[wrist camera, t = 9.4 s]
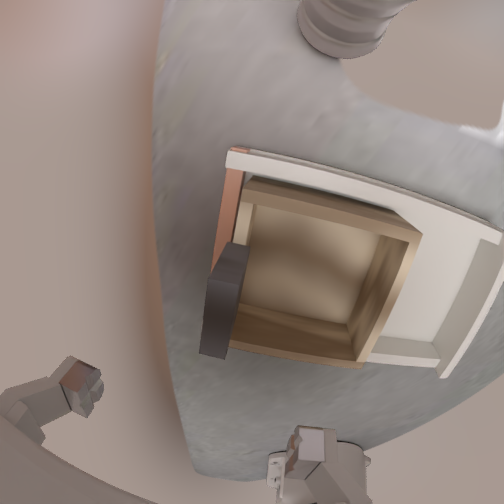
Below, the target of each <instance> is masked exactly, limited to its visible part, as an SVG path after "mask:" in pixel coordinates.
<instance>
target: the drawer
mask: <svg viewBox="0 0 504 504" xmlns="http://www.w3.org/2000/svg"><path fill="white" fill-rule="evenodd" d="M422 236H423V233H421V232H420V231H419V230H418V229H416V228H415V227H414V226H413V225H411V224H410V223H409V222H408V221H406V220H405V219H404V218H403V217H401V216H400V215H399V214H397V213H396V212H395V211H393V210H390V209H387V208H383V207H380V206H377V205H373V204H370V203H366V202H362V201H359V200H355V199H352V198H348V197H344V196H340V195H336V194H333V193H329V192H325V191H321V190H317V189H313V188H308V187H304V186H300V185H296V184H291V183H287V182H282V181H278V180H273V179H269V178H264V177H259V176H254V175H253V176H252V177H251V179H250V180H249V181H248V182H247V184H246V185H245V186H244V187H243V189H242V195H241V200H240V206H239V211H238V216H237V222H236V228H235V233H234V239H233V243H232V242H227V243H226V245H225V247H224V249H223V251H222V253H221V255H220V257H219V259H218V260H217V262H216V264H215V266H214V268H213V270H212V272H211V274H210V276H209V278H208V285H207V292H206V300H205V308H204V316H203V324H202V332H201V341H200V350H199V353H200V354H204V355H208V356H212V357H216V358H220V359H224V360H225V357H226V353H227V349H228V347H231V348H235V349H240V350H244V351H249V352H254V353H259V354H264V355H269V356H274V357H280V358H285V359H291V360H297V361H303V362H309V363H316V364H322V365H329V366H337V367H345V368H353V369H362V367H363V365H364V363H365V362H366V360H367V358H368V356H369V354H370V352H371V351H372V349H373V347H374V345H375V343H376V341H377V339H378V337H379V335H380V333H381V332H382V330H383V328H384V326H385V324H386V321H387V319H388V317H389V315H390V313H391V311H392V309H393V307H394V305H395V302H396V300H397V298H398V296H399V294H400V291H401V289H402V287H403V284H404V282H405V280H406V277H407V275H408V272H409V270H410V267H411V265H412V262H413V260H414V257H415V255H416V252H417V249H418V247H419V244H420V241H421V238H422Z"/></svg>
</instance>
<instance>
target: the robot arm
mask: <svg viewBox="0 0 504 504" xmlns="http://www.w3.org/2000/svg"><path fill="white" fill-rule="evenodd" d="M100 376H101V372H100V369H97V368H95V367H93V366H91V365H89V364H87V363H85V362H83V361H81V360H79V359H77V358H74V357H73V356H69V357H67V358H66V359H65V360H64V361H63V362H62V363H61V365H60V366H59V367H58V368H57V369H56V370H55V371H54V373H53V374H52V375H51V376H50V377H49V378H48V377H44V378H41V379H37V380H34V381H31V382H28V383H24V384H22V385H18V386H14V387H11V388H8V389H6V390H5V391H4V392H3V393H2V394H1V395H0V504H157V503H155V502H152V501H149V500H146V499H143V498H141V497H139V496H136V495H133V494H131V493H129V492H126V491H124V490H121V489H119V488H117V487H115V486H112V485H110V484H108V483H106V482H104V481H102V480H100V479H98V478H96V477H94V476H92V475H90V474H88V473H86V472H84V471H82V470H80V469H79V468H77V467H75V466H73V465H71V464H69V463H68V462H66V461H64V460H63V459H61V458H60V457H58V456H56V455H55V454H53V453H52V452H50V451H48V450H47V449H45V448H44V447H42V446H41V444H42V443H43V441H44V440H45V435H44V433H43V431H42V430H41V428H40V427H41V426H43V425H45V424H47V423H49V422H51V421H53V420H55V419H57V418H59V417H61V416H63V415H65V414H67V413H69V412H71V411H73V412H75V413H77V414H79V415H81V416H83V417H85V418H88V416H89V415H90V413H91V412H92V410H93V409H94V405H93V403H95V402H97V401H99V400H100V398H101V396H102V394H103V391H104V384H103V381H102V380H101V379H100ZM370 463H371V459H370V458H369V457H367V456H365V455H364V453H363V450H362V449H361V448H360V447H359V446H357V445H354V444H350V443H344V442H337V437H336V431H335V429H325V428H318V427H309V426H300V425H298V426H297V427H296V428H295V433H294V435H291V437H290V439H289V442H288V445H287V450H286V452H280V453H273V454H270V455H269V459H268V469H267V479H266V484H267V486H269V487H272V488H276V489H277V496H276V503H277V504H372V500H371V499H370V498H369V497H368V495H367V485H366V467H367V466H368V465H370Z"/></svg>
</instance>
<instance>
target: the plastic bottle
mask: <svg viewBox="0 0 504 504" xmlns="http://www.w3.org/2000/svg"><path fill="white" fill-rule="evenodd" d="M414 1H416V0H301V2H300V5H299V7H298V11H297V20H298V23H299V26H300V29H301V32H302V33H303V35H304V37H305V39H306V40H307V41H308V42H309V43H310V44H311V45H312V46H313V47H314V48H316V49H317V50H319V51H321V52H322V53H324V54H327V55H329V56H332V57H336V58H343V59H351V58H357V57H360V56H363V55H366V54H368V53H370V52H372V51H373V50H375V49H376V48H377V47H378V46H379V44H380V43H381V41H382V39H383V37H384V34H385V32H386V29H387V26H388V25H389V23H390V22H391V20H392V19H393V17H394V16H395V15H397V14H398V13H399V12H400V11H401V10H403V9H404V8H405V7H406V6H408V5H409V4H410V3H412V2H414Z"/></svg>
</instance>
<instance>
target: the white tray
mask: <svg viewBox="0 0 504 504" xmlns="http://www.w3.org/2000/svg"><path fill="white" fill-rule="evenodd" d="M225 167H226V168H227V172H226V178H225V183H224V189H223V195H222V201H221V207H220V214H219V220H218V226H217V233H216V239H215V246H214V252H213V259H212V266H211V272H212V270H213V268H214V266H215V264H216V262H217V260H218V259H219V257H220V255H221V253H222V251H223V249H224V247H225V245H226V243H227V242H232V243H233V239H234V233H235V228H236V222H237V216H238V211H239V206H240V200H241V195H242V189H243V187H244V186H245V185H246V184H247V182H248V181H249V180H250V179H251V177H252V176H253V175H254V176H259V177H264V178H269V179H273V180H278V181H282V182H287V183H291V184H296V185H300V186H304V187H308V188H313V189H317V190H321V191H325V192H329V193H333V194H336V195H340V196H344V197H348V198H352V199H355V200H359V201H362V202H366V203H370V204H373V205H377V206H380V207H383V208H387V209H390V210H393V211H395V212H396V213H397V214H399V215H400V216H401V217H403V218H404V219H405V220H406V221H408V222H409V223H410V224H411V225H413V226H414V227H415V228H416V229H418V230H419V231H420V232H421V233H423V236H422V238H421V241H420V244H419V247H418V249H417V252H416V255H415V257H414V260H413V262H412V265H411V267H410V270H409V272H408V275H407V277H406V280H405V282H404V284H403V287H402V289H401V291H400V294H399V296H398V298H397V300H396V302H395V305H394V307H393V309H392V311H391V313H390V315H389V317H388V319H387V321H386V324H385V326H384V328H383V330H382V332H381V333H380V335H379V337H378V339H377V341H376V343H375V345H374V347H373V349H372V351H371V352H370V354H369V356H368V358H367V360H366V362H374V363H384V364H394V365H406V366H419V367H434V368H435V370H436V373H437V375H438V377H439V378H447V377H448V376H449V375H450V373H451V372H452V370H453V369H454V368H455V366H456V365H457V363H458V362H459V360H460V359H461V357H462V356H463V354H464V352H465V351H466V349H467V348H468V346H469V345H470V343H471V341H472V340H473V338H474V336H475V335H476V333H477V331H478V330H479V328H480V326H481V324H482V322H483V321H484V319H485V317H486V315H487V313H488V311H489V309H490V308H491V306H492V304H493V302H494V300H495V298H496V296H497V293H498V291H499V289H500V287H501V285H502V283H503V281H504V230H502V229H500V228H499V227H497V226H495V225H494V224H492V223H490V222H488V221H486V220H484V219H482V218H479V217H477V216H475V215H472V214H470V213H468V212H465V211H463V210H460V209H458V208H456V207H453V206H450V205H448V204H445V203H443V202H440V201H438V200H435V199H432V198H430V197H427V196H424V195H421V194H418V193H416V192H413V191H410V190H407V189H404V188H401V187H398V186H395V185H392V184H389V183H386V182H383V181H379V180H376V179H373V178H370V177H366V176H363V175H360V174H356V173H353V172H349V171H345V170H342V169H338V168H334V167H331V166H327V165H323V164H319V163H315V162H311V161H307V160H303V159H298V158H294V157H290V156H285V155H281V154H276V153H271V152H266V151H261V150H256V149H251V148H246V147H240V146H235V147H231V150H228V153H227V158H226V164H225ZM210 274H211V273H210ZM202 324H203V320H202ZM201 331H202V327H201Z"/></svg>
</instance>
